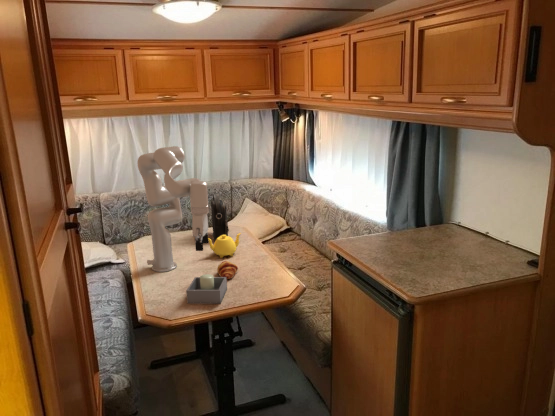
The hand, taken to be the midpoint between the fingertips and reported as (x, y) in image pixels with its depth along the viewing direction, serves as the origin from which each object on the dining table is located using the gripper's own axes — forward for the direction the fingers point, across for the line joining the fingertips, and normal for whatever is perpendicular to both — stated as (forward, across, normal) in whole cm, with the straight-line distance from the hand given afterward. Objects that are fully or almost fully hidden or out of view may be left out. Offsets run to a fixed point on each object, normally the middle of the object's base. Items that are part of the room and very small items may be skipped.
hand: (202, 246), depth 204 cm
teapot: (+22, -48, -1) cm, 53 cm away
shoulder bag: (+23, -79, -10) cm, 83 cm away
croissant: (+22, -21, +6) cm, 31 cm away
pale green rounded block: (+20, +5, +2) cm, 21 cm away
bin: (+21, +6, +3) cm, 22 cm away
